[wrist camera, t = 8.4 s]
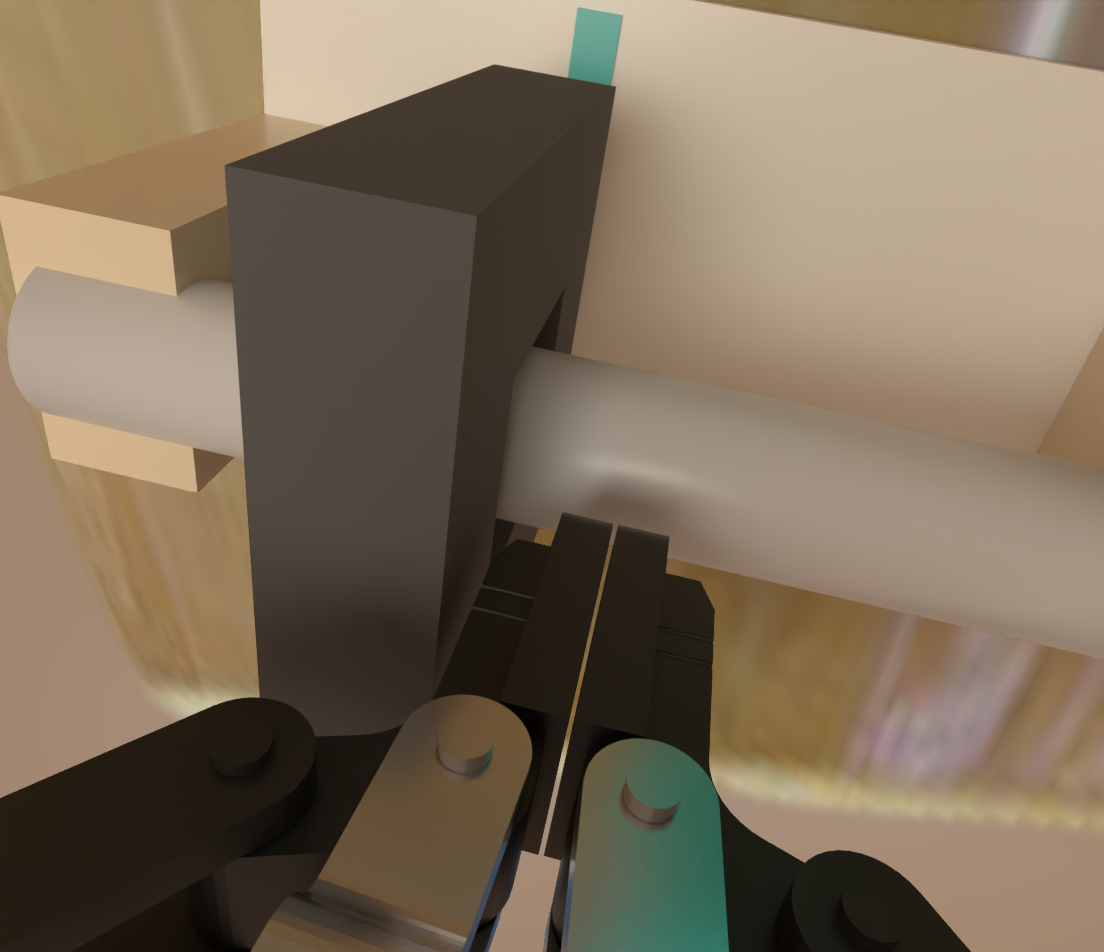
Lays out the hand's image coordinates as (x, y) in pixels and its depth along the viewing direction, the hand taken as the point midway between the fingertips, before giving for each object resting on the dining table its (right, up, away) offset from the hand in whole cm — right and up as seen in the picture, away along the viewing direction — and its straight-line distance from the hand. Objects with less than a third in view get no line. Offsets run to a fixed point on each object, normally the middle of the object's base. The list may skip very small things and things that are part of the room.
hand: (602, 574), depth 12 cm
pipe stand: (+4, +6, +11) cm, 13 cm away
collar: (-1, +5, +7) cm, 9 cm away
